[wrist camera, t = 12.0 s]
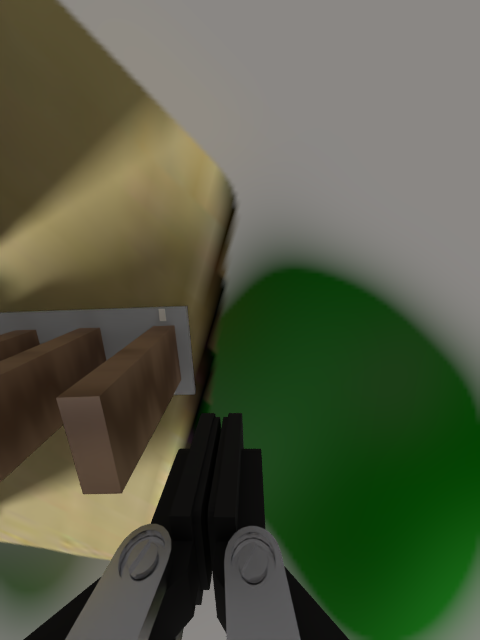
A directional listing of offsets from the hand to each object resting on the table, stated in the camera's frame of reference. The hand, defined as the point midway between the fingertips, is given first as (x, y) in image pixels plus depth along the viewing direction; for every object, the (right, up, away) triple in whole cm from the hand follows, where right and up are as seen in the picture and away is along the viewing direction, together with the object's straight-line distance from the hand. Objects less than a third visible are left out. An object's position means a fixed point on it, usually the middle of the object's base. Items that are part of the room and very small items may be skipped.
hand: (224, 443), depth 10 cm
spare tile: (-6, +2, +11) cm, 12 cm away
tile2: (-12, +2, +11) cm, 16 cm away
